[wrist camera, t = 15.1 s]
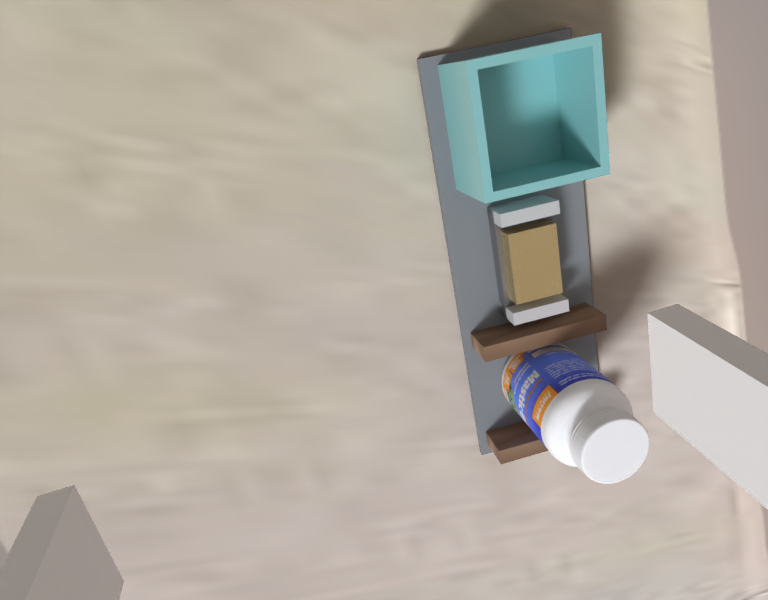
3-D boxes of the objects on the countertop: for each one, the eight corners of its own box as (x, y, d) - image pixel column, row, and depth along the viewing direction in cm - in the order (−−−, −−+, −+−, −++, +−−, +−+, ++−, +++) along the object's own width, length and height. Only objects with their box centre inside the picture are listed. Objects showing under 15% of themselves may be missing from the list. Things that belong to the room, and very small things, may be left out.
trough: (470, 332, 40) (483, 347, 38) (585, 302, 41) (605, 315, 39) (487, 443, 43) (500, 464, 41) (594, 413, 44) (614, 431, 41)
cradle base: (486, 207, 37) (500, 214, 35) (542, 194, 38) (558, 200, 36) (501, 313, 40) (514, 325, 38) (553, 300, 40) (569, 311, 38)
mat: (416, 59, 34) (418, 59, 34) (567, 28, 36) (571, 28, 35) (480, 451, 43) (482, 455, 43) (599, 417, 44) (602, 420, 44)
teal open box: (437, 65, 34) (465, 61, 30) (555, 40, 35) (601, 32, 31) (456, 189, 37) (485, 203, 32) (566, 164, 38) (610, 173, 33)
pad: (500, 230, 37) (507, 234, 36) (547, 219, 37) (556, 223, 36) (509, 298, 39) (516, 304, 37) (554, 287, 39) (563, 292, 38)
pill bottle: (497, 344, 41) (567, 416, 31) (574, 330, 41) (664, 396, 32) (500, 417, 42) (567, 505, 33) (574, 402, 43) (659, 484, 34)
